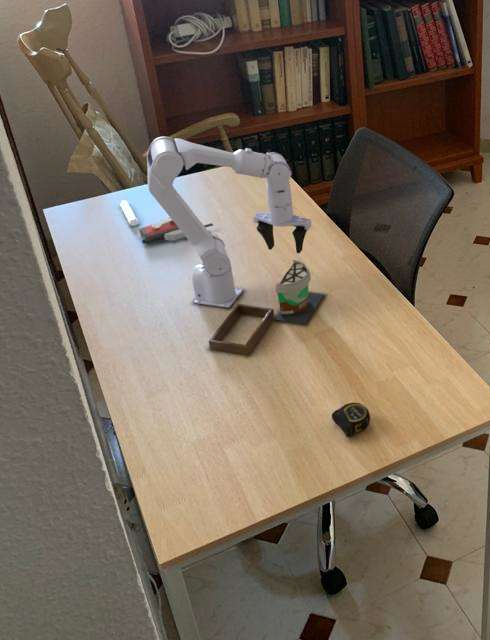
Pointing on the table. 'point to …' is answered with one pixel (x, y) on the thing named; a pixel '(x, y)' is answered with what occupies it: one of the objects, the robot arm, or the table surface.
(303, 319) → the rubber mat
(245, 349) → the walnut tray
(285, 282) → the food container
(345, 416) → the tape measure
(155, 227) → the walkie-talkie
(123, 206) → the marker
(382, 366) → the table surface
